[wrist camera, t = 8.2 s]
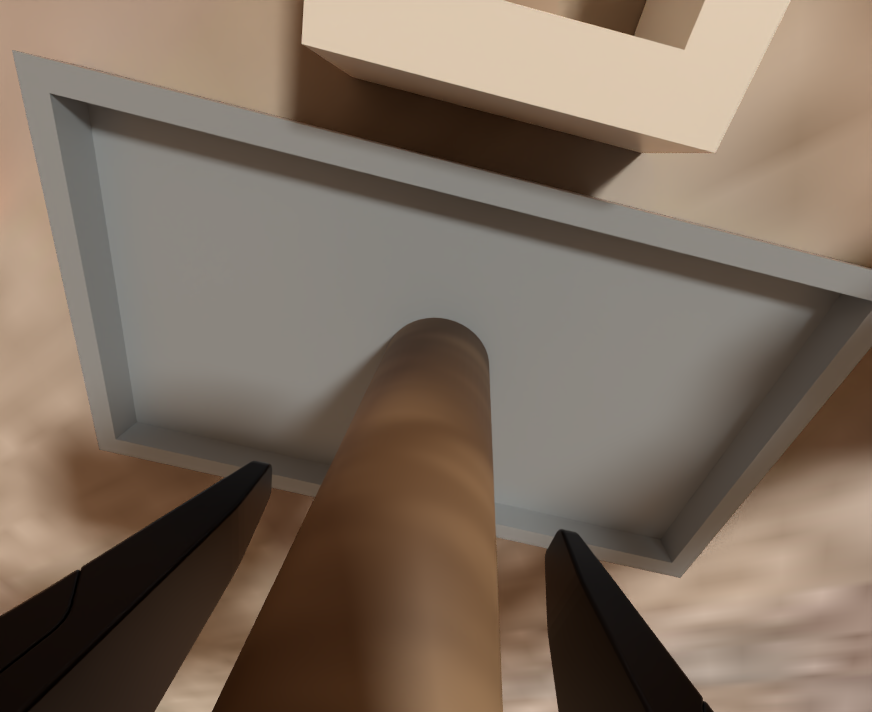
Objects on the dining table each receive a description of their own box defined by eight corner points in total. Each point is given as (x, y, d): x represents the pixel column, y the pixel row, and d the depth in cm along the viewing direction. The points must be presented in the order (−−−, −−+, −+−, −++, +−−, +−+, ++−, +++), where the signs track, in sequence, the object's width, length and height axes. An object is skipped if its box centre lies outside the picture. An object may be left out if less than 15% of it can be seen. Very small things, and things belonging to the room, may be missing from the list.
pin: (502, 332, 14) (566, 857, 4) (473, 420, 16) (459, 934, 6) (394, 305, 14) (141, 755, 4) (377, 396, 16) (176, 871, 5)
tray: (868, 267, 13) (923, 283, 11) (662, 542, 19) (680, 577, 18) (72, 63, 12) (12, 50, 11) (131, 424, 18) (99, 449, 17)
